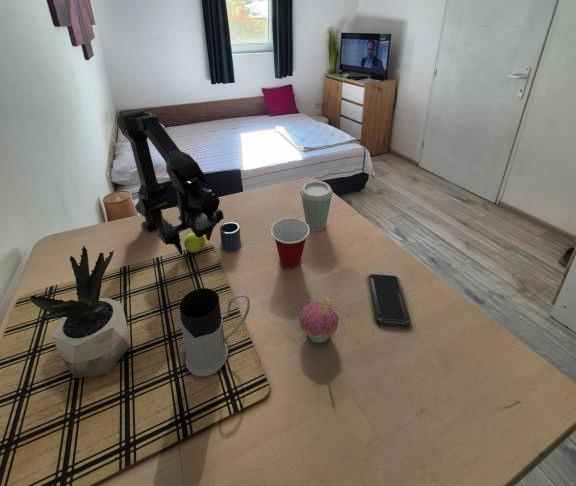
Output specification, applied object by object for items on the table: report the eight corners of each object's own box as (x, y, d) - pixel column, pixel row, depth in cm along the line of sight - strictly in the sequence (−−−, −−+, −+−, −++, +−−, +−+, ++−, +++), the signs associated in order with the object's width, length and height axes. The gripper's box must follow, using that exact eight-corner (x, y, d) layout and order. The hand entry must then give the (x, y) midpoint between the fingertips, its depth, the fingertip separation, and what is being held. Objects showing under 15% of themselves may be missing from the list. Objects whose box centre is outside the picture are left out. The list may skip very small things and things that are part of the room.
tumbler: (218, 246, 101) (216, 227, 98) (233, 238, 105) (232, 219, 102) (229, 255, 97) (227, 235, 95) (244, 246, 101) (243, 227, 98)
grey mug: (183, 345, 70) (173, 293, 64) (246, 323, 76) (242, 273, 70) (188, 383, 63) (178, 328, 57) (257, 356, 68) (255, 303, 62)
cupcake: (340, 324, 75) (343, 284, 71) (332, 357, 68) (336, 315, 63) (304, 314, 78) (305, 275, 73) (293, 344, 71) (294, 304, 66)
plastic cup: (265, 269, 92) (264, 234, 87) (280, 246, 101) (280, 214, 96) (301, 280, 88) (302, 244, 83) (313, 255, 97) (314, 222, 92)
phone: (376, 320, 75) (368, 273, 89) (376, 323, 75) (368, 276, 89) (411, 323, 74) (398, 275, 88) (410, 326, 75) (397, 279, 88)
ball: (181, 250, 99) (179, 234, 97) (199, 241, 103) (197, 226, 101) (191, 259, 95) (189, 243, 93) (209, 250, 99) (207, 234, 97)
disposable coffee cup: (332, 235, 106) (335, 195, 100) (299, 235, 106) (300, 195, 100) (329, 217, 116) (331, 179, 110) (299, 217, 116) (299, 179, 110)
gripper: (170, 227, 81) (179, 275, 87) (232, 201, 93) (235, 245, 99) (152, 210, 89) (160, 256, 95) (211, 187, 101) (215, 229, 107)
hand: (195, 246), depth 99 cm, fingers open, 9 cm apart
